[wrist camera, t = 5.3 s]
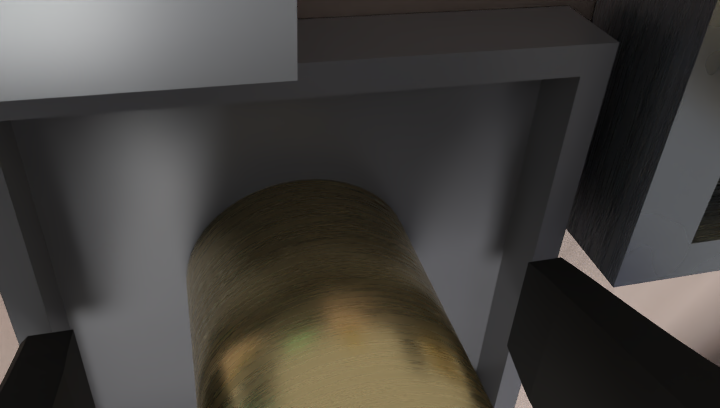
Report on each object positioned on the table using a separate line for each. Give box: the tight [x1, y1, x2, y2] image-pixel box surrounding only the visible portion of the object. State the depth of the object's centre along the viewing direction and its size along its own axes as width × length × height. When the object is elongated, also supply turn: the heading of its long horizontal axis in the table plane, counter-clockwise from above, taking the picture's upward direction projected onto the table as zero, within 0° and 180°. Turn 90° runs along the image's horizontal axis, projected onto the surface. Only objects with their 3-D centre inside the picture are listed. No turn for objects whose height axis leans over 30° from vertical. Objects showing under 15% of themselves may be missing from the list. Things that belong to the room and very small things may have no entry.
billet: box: [186, 179, 493, 408], centre depth 10 cm, size 4×4×5 cm
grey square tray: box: [0, 6, 619, 408], centre depth 12 cm, size 9×9×2 cm
